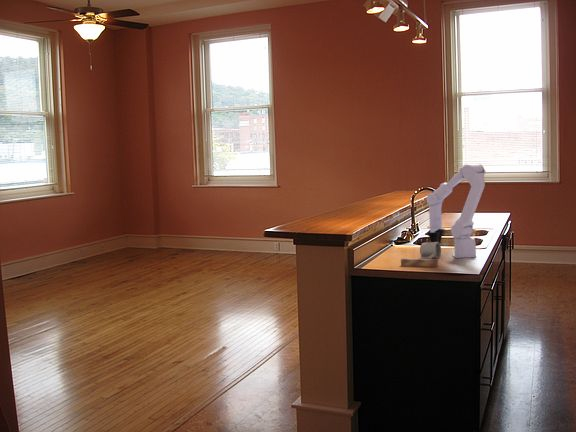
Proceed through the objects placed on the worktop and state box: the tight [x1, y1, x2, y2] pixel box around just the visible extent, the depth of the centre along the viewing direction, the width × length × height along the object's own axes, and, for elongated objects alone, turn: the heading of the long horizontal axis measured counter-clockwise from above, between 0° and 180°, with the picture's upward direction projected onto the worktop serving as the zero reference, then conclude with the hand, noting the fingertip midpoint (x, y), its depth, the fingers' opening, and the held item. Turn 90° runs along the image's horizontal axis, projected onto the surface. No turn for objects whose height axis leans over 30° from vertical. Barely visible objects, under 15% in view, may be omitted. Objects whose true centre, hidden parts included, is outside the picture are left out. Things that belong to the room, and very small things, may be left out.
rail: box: [400, 257, 439, 268], centre depth 287 cm, size 16×2×3 cm, turn 64°
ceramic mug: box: [419, 241, 442, 259], centre depth 305 cm, size 11×8×8 cm
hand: (436, 245), depth 316 cm, fingers open, 7 cm apart
